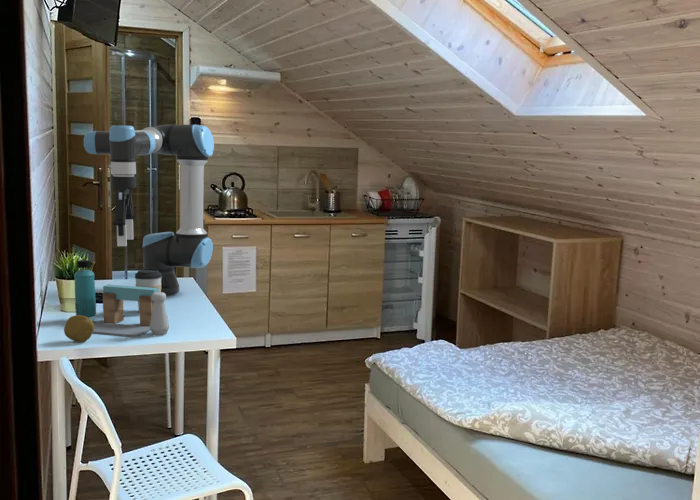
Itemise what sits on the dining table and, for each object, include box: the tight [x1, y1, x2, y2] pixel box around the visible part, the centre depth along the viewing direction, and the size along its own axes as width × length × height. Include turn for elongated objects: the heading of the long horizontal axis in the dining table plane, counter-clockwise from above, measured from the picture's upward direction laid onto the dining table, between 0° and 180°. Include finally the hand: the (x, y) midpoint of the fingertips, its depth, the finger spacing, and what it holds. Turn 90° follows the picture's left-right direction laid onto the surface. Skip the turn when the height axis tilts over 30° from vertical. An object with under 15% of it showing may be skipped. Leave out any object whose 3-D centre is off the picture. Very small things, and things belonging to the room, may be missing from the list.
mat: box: [92, 321, 151, 338], centre depth 221 cm, size 10×20×1 cm, turn 77°
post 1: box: [102, 293, 125, 324], centre depth 230 cm, size 5×4×10 cm
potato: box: [63, 314, 94, 343], centre depth 208 cm, size 7×8×8 cm
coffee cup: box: [134, 268, 162, 314], centre depth 243 cm, size 9×9×15 cm
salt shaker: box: [150, 292, 170, 337], centre depth 217 cm, size 6×6×13 cm
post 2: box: [139, 296, 154, 327], centre depth 227 cm, size 5×4×10 cm
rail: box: [102, 284, 159, 302], centre depth 228 cm, size 3×18×4 cm, turn 77°
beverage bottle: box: [73, 259, 97, 319], centre depth 230 cm, size 6×7×20 cm
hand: (125, 242), depth 224 cm, fingers open, 13 cm apart
